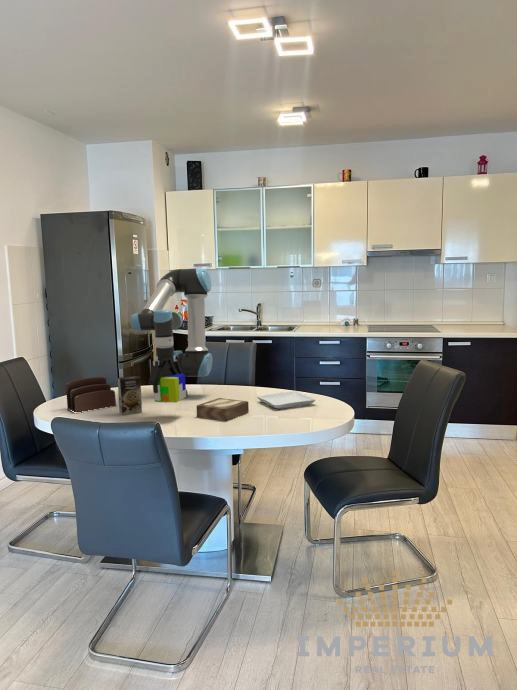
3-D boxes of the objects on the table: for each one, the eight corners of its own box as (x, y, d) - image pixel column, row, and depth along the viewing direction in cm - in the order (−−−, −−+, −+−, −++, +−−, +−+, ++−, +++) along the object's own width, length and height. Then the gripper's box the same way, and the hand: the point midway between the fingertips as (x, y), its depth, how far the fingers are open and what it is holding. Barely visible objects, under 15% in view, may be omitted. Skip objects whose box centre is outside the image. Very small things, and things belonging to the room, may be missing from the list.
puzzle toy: (186, 396, 221) (184, 374, 220) (176, 402, 211) (175, 378, 210) (165, 395, 224) (163, 373, 222) (154, 401, 214) (153, 378, 213)
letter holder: (67, 410, 238) (65, 380, 237) (107, 403, 251) (105, 375, 250) (75, 414, 231) (73, 383, 229) (116, 406, 244) (114, 377, 242)
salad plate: (275, 412, 224) (274, 404, 224) (256, 402, 244) (255, 395, 243) (317, 406, 233) (316, 399, 232) (295, 397, 252) (295, 390, 252)
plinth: (196, 416, 219) (196, 405, 218) (219, 408, 232) (219, 397, 231) (226, 421, 210) (226, 409, 209) (248, 412, 223) (248, 401, 222)
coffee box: (122, 415, 225) (120, 379, 223) (119, 412, 230) (116, 377, 228) (142, 412, 229) (140, 377, 227) (139, 409, 234) (137, 375, 233)
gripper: (150, 351, 203) (154, 404, 206) (190, 343, 223) (192, 392, 226) (137, 350, 207) (141, 402, 210) (177, 342, 227) (179, 390, 230)
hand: (167, 397), depth 218 cm, fingers closed on puzzle toy, 11 cm apart
